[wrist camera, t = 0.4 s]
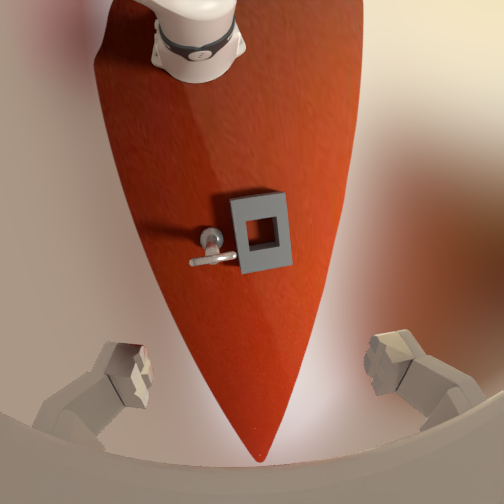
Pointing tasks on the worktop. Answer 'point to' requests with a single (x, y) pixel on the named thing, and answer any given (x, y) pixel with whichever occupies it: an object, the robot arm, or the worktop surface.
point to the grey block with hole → (262, 253)
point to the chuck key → (212, 248)
